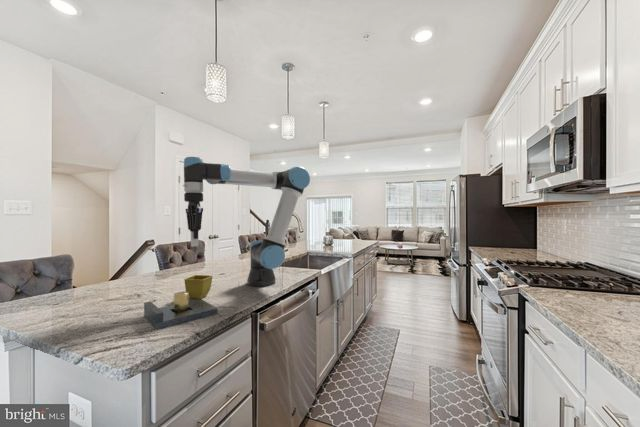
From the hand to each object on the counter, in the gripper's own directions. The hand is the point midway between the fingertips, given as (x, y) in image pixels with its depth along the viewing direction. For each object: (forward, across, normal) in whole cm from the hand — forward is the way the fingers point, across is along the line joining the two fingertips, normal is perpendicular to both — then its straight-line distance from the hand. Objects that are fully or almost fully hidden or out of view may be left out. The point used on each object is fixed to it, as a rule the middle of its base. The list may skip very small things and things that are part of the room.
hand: (194, 246), depth 117 cm
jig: (+23, +16, -12) cm, 30 cm away
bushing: (+23, +16, -12) cm, 30 cm away
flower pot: (+24, -2, +2) cm, 24 cm away
